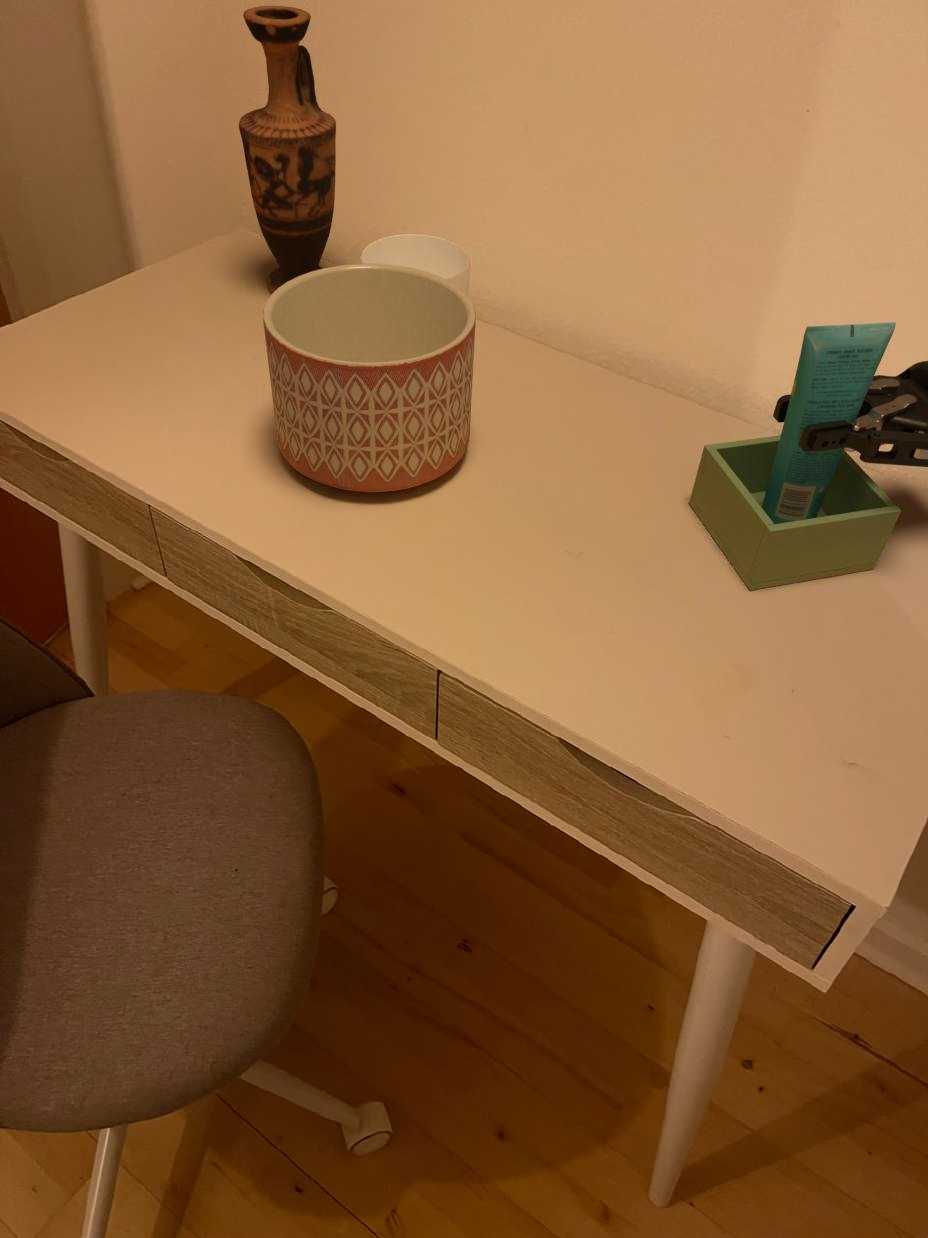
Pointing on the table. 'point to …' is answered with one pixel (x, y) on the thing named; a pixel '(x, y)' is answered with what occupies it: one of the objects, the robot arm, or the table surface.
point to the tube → (821, 412)
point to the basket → (790, 550)
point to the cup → (422, 256)
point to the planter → (371, 375)
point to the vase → (289, 148)
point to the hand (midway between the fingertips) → (791, 424)
